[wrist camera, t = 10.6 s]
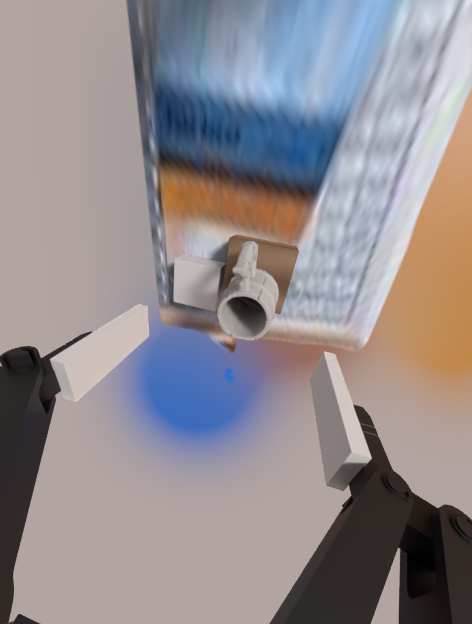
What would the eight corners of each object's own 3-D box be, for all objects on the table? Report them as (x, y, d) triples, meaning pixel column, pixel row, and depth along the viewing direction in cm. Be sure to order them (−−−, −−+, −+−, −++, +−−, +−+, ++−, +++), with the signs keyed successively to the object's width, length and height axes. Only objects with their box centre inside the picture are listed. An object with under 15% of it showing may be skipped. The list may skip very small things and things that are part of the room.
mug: (231, 310, 34) (208, 353, 24) (228, 236, 29) (196, 249, 19) (277, 313, 33) (274, 360, 22) (282, 236, 28) (281, 249, 17)
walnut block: (236, 234, 34) (229, 237, 29) (296, 246, 33) (298, 251, 28) (228, 290, 38) (221, 300, 34) (280, 302, 37) (280, 314, 33)
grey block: (184, 253, 37) (174, 258, 34) (226, 263, 36) (220, 268, 33) (183, 294, 41) (173, 301, 37) (221, 303, 40) (215, 311, 36)
